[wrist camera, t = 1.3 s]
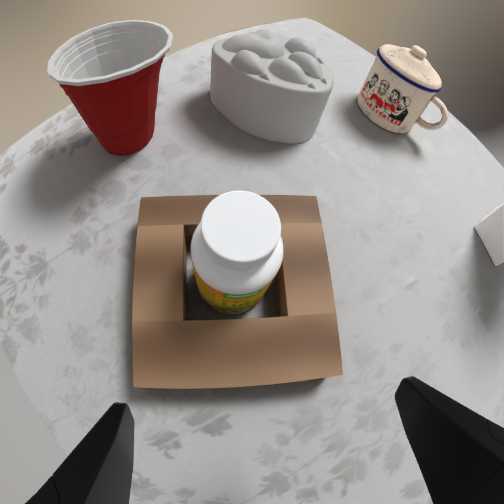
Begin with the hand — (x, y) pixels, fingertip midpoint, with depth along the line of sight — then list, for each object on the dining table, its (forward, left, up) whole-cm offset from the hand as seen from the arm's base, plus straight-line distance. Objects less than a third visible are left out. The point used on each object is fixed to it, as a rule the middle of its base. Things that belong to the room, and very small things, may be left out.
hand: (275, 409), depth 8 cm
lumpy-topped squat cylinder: (+25, +14, -14) cm, 32 cm away
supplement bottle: (+6, +5, -14) cm, 16 cm away
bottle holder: (+6, +5, -13) cm, 16 cm away
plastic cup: (+12, +23, -14) cm, 30 cm away
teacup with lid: (+37, +1, -14) cm, 40 cm away
